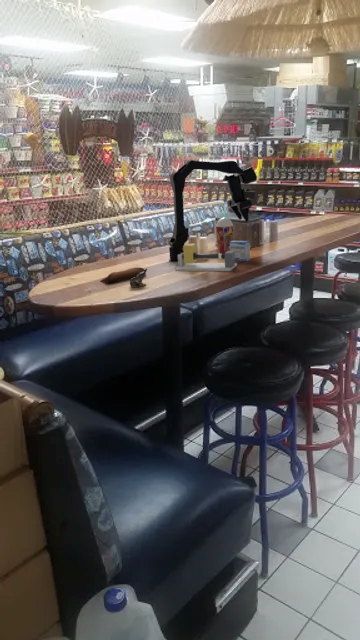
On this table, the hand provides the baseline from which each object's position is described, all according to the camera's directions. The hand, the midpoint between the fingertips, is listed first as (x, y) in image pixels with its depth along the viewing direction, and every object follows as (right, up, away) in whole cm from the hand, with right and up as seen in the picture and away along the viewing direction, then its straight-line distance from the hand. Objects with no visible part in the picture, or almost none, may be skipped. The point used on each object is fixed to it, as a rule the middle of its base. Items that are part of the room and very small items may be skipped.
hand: (243, 220), depth 244 cm
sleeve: (-26, -22, -21) cm, 40 cm away
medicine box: (-3, -21, -12) cm, 24 cm away
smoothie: (-8, -15, +6) cm, 18 cm away
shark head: (-45, -35, -47) cm, 74 cm away
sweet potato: (-54, -31, -32) cm, 70 cm away
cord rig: (-19, -25, -23) cm, 39 cm away
